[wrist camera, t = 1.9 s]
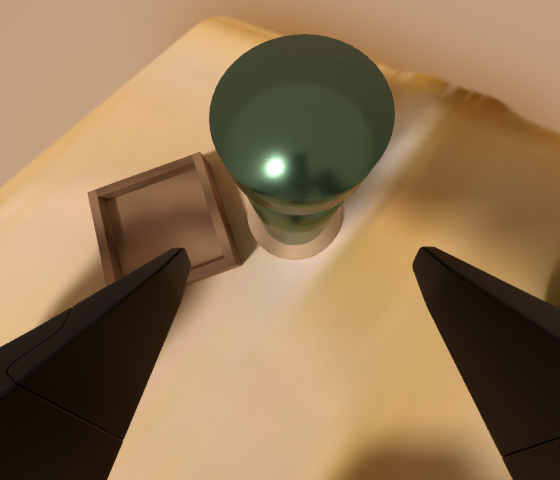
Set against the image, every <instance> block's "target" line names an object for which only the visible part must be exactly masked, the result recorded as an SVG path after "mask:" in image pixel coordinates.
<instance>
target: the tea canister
mask: <svg viewBox="0 0 560 480" xmlns="http://www.w3.org/2000/svg"><path fill="white" fill-rule="evenodd" d="M394 117H395V111H394V102H393V97H392V93H391V90H390V88H389V85H388V83H387V81H386V79H385V77H384V76H383V74H382V72H381V71H380V70H379V69H378V67H377V66H376V65H375V64H374V63H373V62H372V61H371V60H370V59H369V58H368V57H367V56H366V55H364V54H363V53H362V52H360V51H359V50H358V49H356V48H354V47H352V46H351V45H349V44H346V43H344V42H342V41H339V40H336V39H333V38H329V37H325V36H319V35H308V34H303V35H302V34H301V35H290V36H283V37H279V38H276V39H272V40H269V41H267V42H264V43H262V44H260V45H258V46H256V47H254V48H252V49H250V50H249V51H247V52H246V53H244V54H243V55H242V56H241V57H239V58H238V59H237V60H236V61H235V62H234V63H233V64H232V65H231V66H230V67H229V68H228V69H227V71H226V72H225V73H224V75H223V76H222V78H221V79H220V81H219V83H218V85H217V87H216V89H215V92H214V94H213V97H212V101H211V105H210V114H209V123H210V132H211V136H212V140H213V143H214V145H215V148H216V150H217V152H218V154H219V156H220V158H221V159H222V161H223V163H224V164H225V166H226V168H227V169H228V171H229V173H230V174H231V176H232V178H233V179H234V181H235V183H236V184H237V185H238V187H239V188H240V189H241V191H242V192H243V193H244V194H245V195H246V196H247V197H248V199H249V201H250V203H251V204H252V206H253V208H254V210H255V212H256V213H257V215H258V217H259V219H260V221H261V222H262V224H263V226H264V228H265V230H266V231H267V232H268V234H269V235H270V236H271V237H272V238H274V239H275V240H277V241H278V242H281V243H283V244H287V245H302V244H306V243H308V242H310V241H312V240H314V239H315V238H316V237H318V236H319V235H320V233H321V232H322V231H323V229H324V228H325V227H326V225H327V224H328V223H329V221H330V220H331V218H332V217H333V216H334V214H335V213H336V211H337V210H338V209H339V207H340V206H341V205H342V203H343V202H344V200H345V199H347V198H348V197H349V196H350V195H351V194H352V193H353V192H354V191H355V190H356V189H357V188H358V187H359V185H360V184H361V183H362V181H363V180H364V179H365V178H366V176H367V175H368V174H369V172H370V171H371V170H372V168H373V167H374V166H375V165H376V163H377V162H378V161H379V159H380V158H381V157H382V155H383V153H384V151H385V150H386V148H387V146H388V143H389V141H390V138H391V136H392V131H393V127H394Z"/></svg>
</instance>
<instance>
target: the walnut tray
mask: <svg viewBox="0 0 560 480" xmlns="http://www.w3.org/2000/svg"><path fill="white" fill-rule="evenodd" d="M88 197H89V202H90V207H91V212H92V216H93V221H94V226H95V231H96V236H97V241H98V246H99V251H100V256H101V260H102V265H103V270H104V275H105V280H106V285H107V286H108V285H110V284H112V283H113V282H115V281H117V280H119V279H120V278H122V277H124V276H125V275H127V274H129V273H130V272H132V271H134V270H136V269H137V268H139V267H141V266H142V265H144V264H146V263H148V262H149V261H151V260H153V259H154V258H156V257H158V256H159V255H161V254H163V253H165V252H166V251H168V250H170V249H171V248H174V247H183V248H185V250H186V252H187V254H188V257H189V260H190V262H191V270H190V273H189V276H188V280H187V283H186V286H187V285H189V284H192V283H195V282H198V281H200V280H203V279H206V278H209V277H211V276H214V275H217V274H220V273H222V272H225V271H228V270H230V269H233V268H236V267H239V266H241V265H242V264H241V261H240V258H239V255H238V252H237V248H236V245H235V242H234V239H233V236H232V233H231V230H230V227H229V224H228V221H227V218H226V215H225V212H224V209H223V205H222V202H221V199H220V196H219V193H218V190H217V187H216V184H215V181H214V178H213V175H212V172H211V169H210V166H209V163H208V162H207V161H206V159H205V158H204V157H203V155H202V154H201V153H200V152H199V153H196V154H193V155H190V156H187V157H185V158H182V159H179V160H176V161H174V162H171V163H168V164H165V165H162V166H160V167H157V168H154V169H151V170H149V171H146V172H143V173H140V174H137V175H135V176H132V177H129V178H126V179H123V180H121V181H118V182H115V183H112V184H110V185H107V186H104V187H101V188H98V189H96V190H93V191H90V192H88Z"/></svg>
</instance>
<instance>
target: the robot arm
mask: <svg viewBox="0 0 560 480" xmlns="http://www.w3.org/2000/svg"><path fill="white" fill-rule="evenodd" d="M190 270H191V262H190V260H189V257H188V254H187V252H186V250H185V248H183V247H174V248H171V249H170V250H168V251H166V252H165V253H163V254H161V255H159V256H158V257H156V258H154V259H153V260H151V261H149V262H148V263H146V264H144V265H142V266H141V267H139V268H137V269H136V270H134V271H132V272H130V273H129V274H127V275H125V276H124V277H122V278H120V279H119V280H117V281H115V282H113V283H112V284H110V285H108V286H107V287H105V288H103V289H102V290H100V291H98V292H96V293H95V294H93V295H91V296H90V297H88V298H86V299H85V300H83V301H81V302H79V303H78V304H76V305H74V306H73V308H69V309H67V310H66V311H64V312H62V313H61V314H59V315H57V316H55V317H54V318H52V319H50V320H49V321H47V322H45V323H43V324H42V325H40V326H38V327H36V328H35V329H33V330H31V331H29V332H27V333H25V334H24V335H22V336H20V337H18V338H16V339H14V340H12V341H11V342H9V343H7V344H5V345H3V346H1V347H0V480H107V479H108V476H109V474H110V472H111V469H112V467H113V464H114V462H115V460H116V457H117V455H118V452H119V450H120V448H121V445H122V443H123V439H124V438H125V435H126V433H127V430H128V428H129V426H130V423H131V421H132V418H133V416H134V414H135V411H136V409H137V406H138V404H139V402H140V399H141V397H142V394H143V392H144V390H145V387H146V385H147V382H148V380H149V378H150V375H151V373H152V371H153V368H154V366H155V363H156V361H157V359H158V356H159V354H160V351H161V349H162V347H163V344H164V342H165V339H166V337H167V335H168V332H169V330H170V327H171V325H172V323H173V320H174V318H175V315H176V313H177V311H178V308H179V306H180V303H181V300H182V297H183V294H184V290H185V287H186V283H187V280H188V276H189V273H190ZM413 271H414V274H415V276H416V279H417V282H418V285H419V287H420V290H421V293H422V296H423V298H424V301H425V303H426V306H427V308H428V310H429V312H430V314H431V316H432V318H433V320H434V322H435V324H436V326H437V328H438V330H439V332H440V334H441V336H442V338H443V340H444V342H445V344H446V346H447V348H448V350H449V352H450V354H451V356H452V358H453V360H454V362H455V364H456V366H457V368H458V370H459V372H460V374H461V376H462V378H463V380H464V382H465V384H466V386H467V388H468V390H469V392H470V394H471V396H472V398H473V400H474V402H475V404H476V406H477V408H478V410H479V412H480V414H481V416H482V419H483V421H484V423H485V425H486V427H487V429H488V431H489V433H490V435H491V437H492V439H493V441H494V443H495V445H496V447H497V449H498V451H499V453H500V455H501V456H502V459H503V461H504V463H505V465H506V467H507V469H508V471H509V473H510V475H511V477H512V479H513V480H560V309H559V308H557V307H555V306H553V305H551V304H549V303H547V302H545V301H543V300H541V299H539V298H536V297H534V296H532V295H530V294H528V293H526V292H524V291H522V290H520V289H518V288H516V287H514V286H512V285H510V284H508V283H506V282H504V281H502V280H500V279H498V278H496V277H494V276H492V275H490V274H488V273H486V272H484V271H482V270H480V269H478V268H476V267H474V266H472V265H470V264H468V263H466V262H464V261H462V260H460V259H458V258H456V257H454V256H452V255H450V254H448V253H446V252H444V251H442V250H440V249H438V248H436V247H421V248H420V249H419V251H418V253H417V255H416V257H415V259H414V262H413Z"/></svg>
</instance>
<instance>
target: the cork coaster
mask: <svg viewBox="0 0 560 480" xmlns="http://www.w3.org/2000/svg"><path fill="white" fill-rule="evenodd" d="M247 217H248V224H249V227H250V230H251V233H252V234H253V236H254V238H255V239H256V241H257V242H258V243H259V244H260V245H261V246H262V247H263V248H264V249H265V250H266V251H268V252H269V253H271V254H273V255H275V256H277V257H280V258H284V259H290V260H299V259H305V258H309V257H312V256H314V255H316V254H318V253H320V252H321V251H323V250H324V249H325V248H327V247H328V246H329V245H330V244H331V242H332V241H333V240H334V239H335V237H336V235H337V233H338V231H339V229H340V225H341V221H342V206H340V207H339V209H338V210H337V211H336V213H335V214H334V216H333V217H332V218H331V220H330V221H329V223H328V224H327V225H326V227H325V228H324V229H323V231H322V232H321V233H320V235H319V236H318V237H316V238H315V239H314V240H312V241H310V242H308V243H306V244H302V245H287V244H283V243H281V242H278V241H277V240H275V239H274V238H272V237H271V236H270V235H269V234H268V232H267V231H266V230H265V228H264V226H263V224H262V222H261V221H260V219H259V217H258V215H257V213H256V212H255V210H254V208H253V206H252V204H251V203H250V201H249V204H248V212H247Z"/></svg>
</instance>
